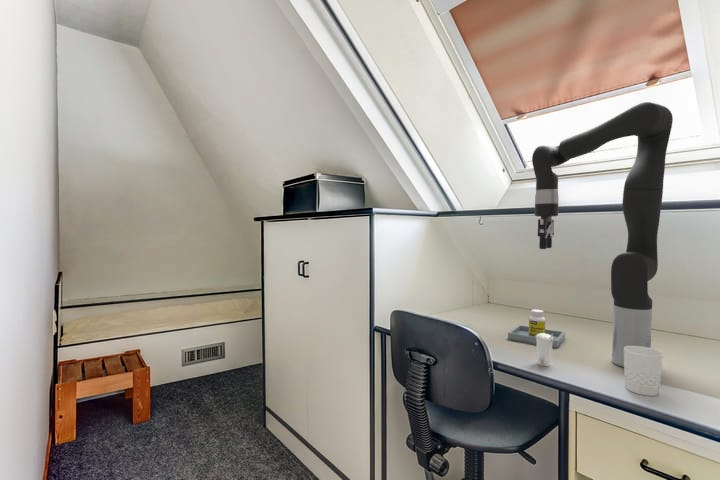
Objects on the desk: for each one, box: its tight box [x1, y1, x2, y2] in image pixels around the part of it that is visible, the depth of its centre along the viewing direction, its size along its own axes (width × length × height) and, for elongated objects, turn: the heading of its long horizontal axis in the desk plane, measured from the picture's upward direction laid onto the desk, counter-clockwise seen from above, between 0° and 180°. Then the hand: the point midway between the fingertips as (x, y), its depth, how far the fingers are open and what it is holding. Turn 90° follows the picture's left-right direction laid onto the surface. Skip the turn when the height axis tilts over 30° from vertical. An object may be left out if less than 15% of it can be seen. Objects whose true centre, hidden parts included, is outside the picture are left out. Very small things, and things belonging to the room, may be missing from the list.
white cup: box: [623, 346, 664, 397], centre depth 96 cm, size 8×8×10 cm
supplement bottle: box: [528, 309, 546, 337], centre depth 139 cm, size 5×5×10 cm
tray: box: [507, 324, 566, 349], centre depth 139 cm, size 16×14×2 cm
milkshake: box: [536, 333, 553, 367], centre depth 113 cm, size 4×5×10 cm
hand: (545, 248), depth 138 cm, fingers open, 8 cm apart
